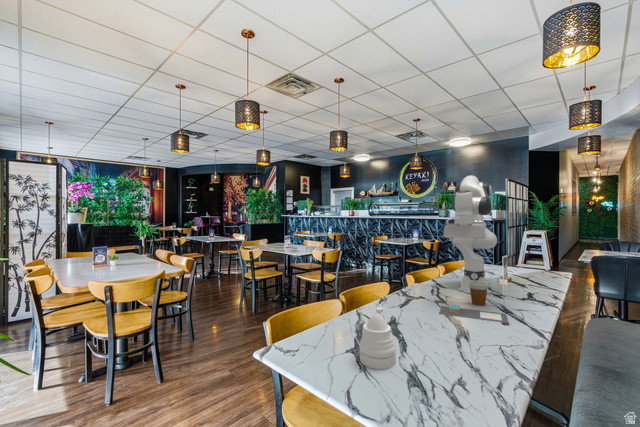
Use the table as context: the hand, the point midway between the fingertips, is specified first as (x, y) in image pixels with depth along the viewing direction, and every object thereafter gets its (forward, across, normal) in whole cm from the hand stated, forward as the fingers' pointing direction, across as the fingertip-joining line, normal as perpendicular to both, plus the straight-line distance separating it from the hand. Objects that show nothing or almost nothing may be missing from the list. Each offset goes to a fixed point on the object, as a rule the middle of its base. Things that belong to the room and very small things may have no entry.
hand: (464, 246), depth 159 cm
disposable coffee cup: (+33, -6, -11) cm, 36 cm away
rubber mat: (+34, -4, +8) cm, 35 cm away
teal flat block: (+33, +4, +8) cm, 34 cm away
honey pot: (+36, +27, +70) cm, 84 cm away
